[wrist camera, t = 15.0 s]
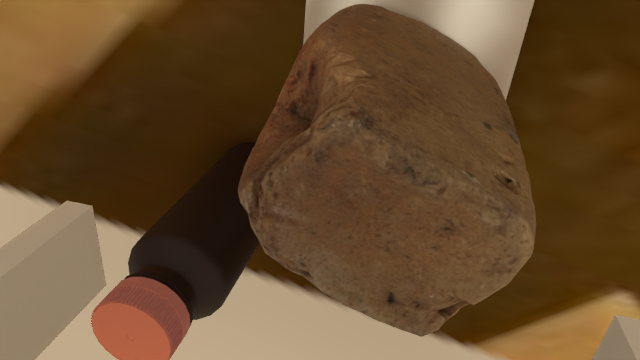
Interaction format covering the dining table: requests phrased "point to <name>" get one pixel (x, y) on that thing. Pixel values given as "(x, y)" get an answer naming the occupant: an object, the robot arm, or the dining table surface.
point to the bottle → (180, 267)
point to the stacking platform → (454, 26)
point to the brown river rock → (391, 172)
